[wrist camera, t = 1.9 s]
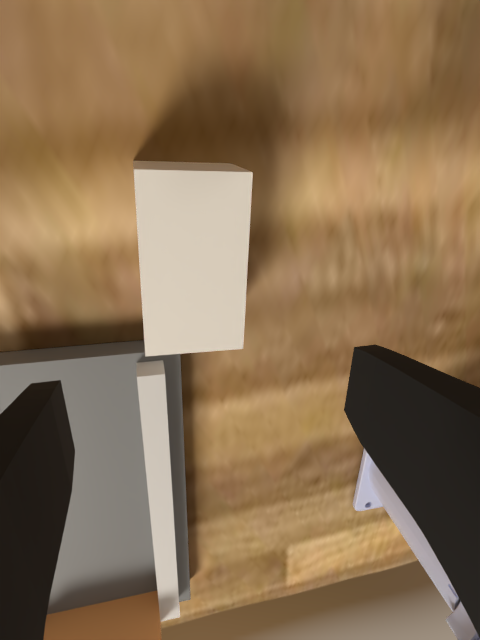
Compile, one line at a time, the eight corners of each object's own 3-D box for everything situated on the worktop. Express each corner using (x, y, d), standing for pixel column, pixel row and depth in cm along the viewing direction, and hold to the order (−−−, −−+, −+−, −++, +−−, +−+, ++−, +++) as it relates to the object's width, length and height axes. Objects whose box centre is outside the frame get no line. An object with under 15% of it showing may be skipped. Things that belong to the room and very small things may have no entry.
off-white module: (230, 162, 17) (252, 172, 14) (225, 313, 20) (243, 348, 17) (132, 160, 16) (133, 169, 13) (142, 318, 19) (145, 356, 16)
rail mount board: (177, 337, 20) (188, 385, 16) (188, 581, 28) (196, 650, 24) (-81, 359, 17) (-138, 422, 14) (13, 619, 26) (-7, 703, 22)
